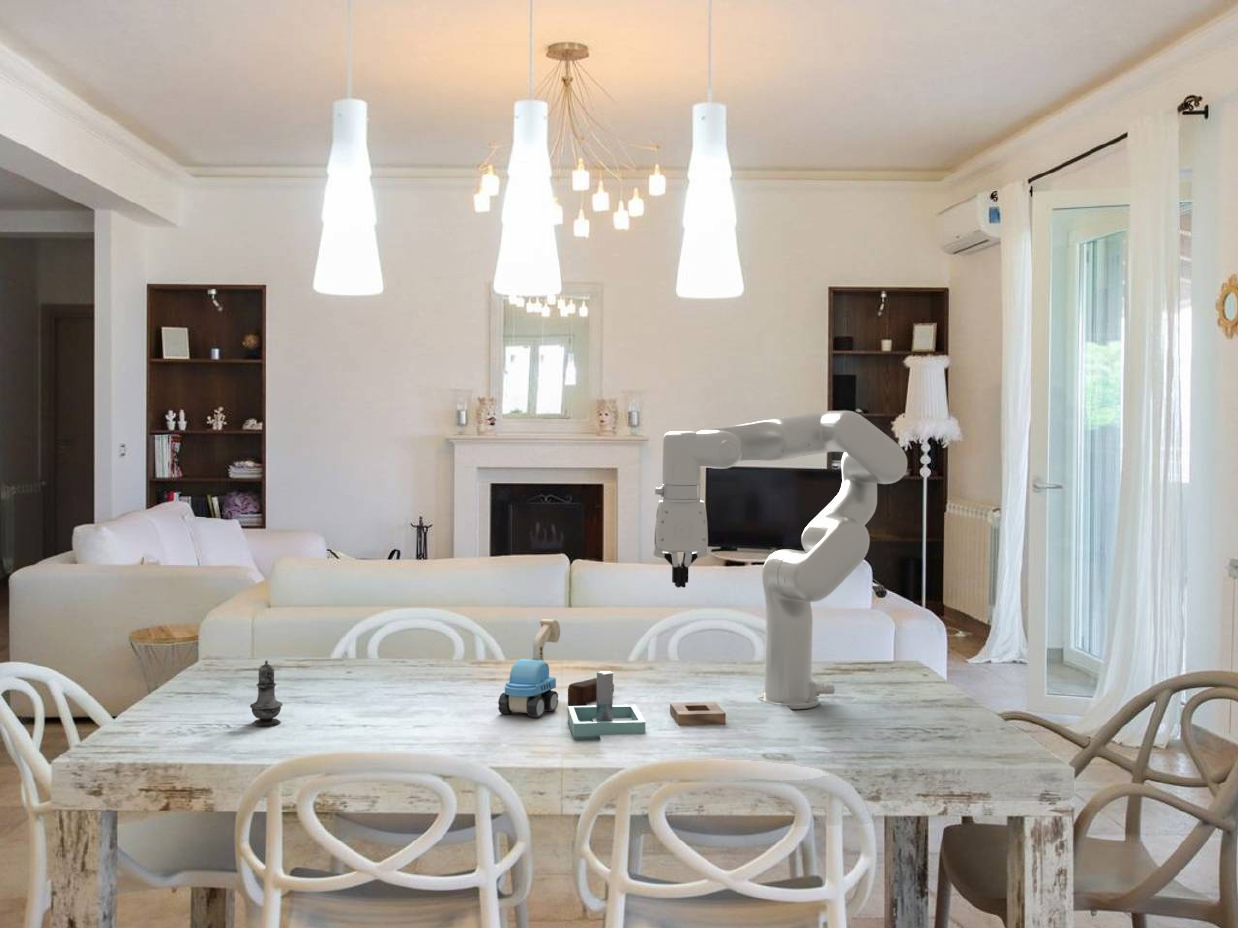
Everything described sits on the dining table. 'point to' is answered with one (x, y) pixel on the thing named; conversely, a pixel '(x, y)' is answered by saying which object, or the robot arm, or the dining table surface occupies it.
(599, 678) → the pin
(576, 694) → the brick
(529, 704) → the toy excavator
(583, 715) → the tray
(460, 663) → the dining table surface
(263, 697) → the salt shaker
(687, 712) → the wooden square frame
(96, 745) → the dining table surface
